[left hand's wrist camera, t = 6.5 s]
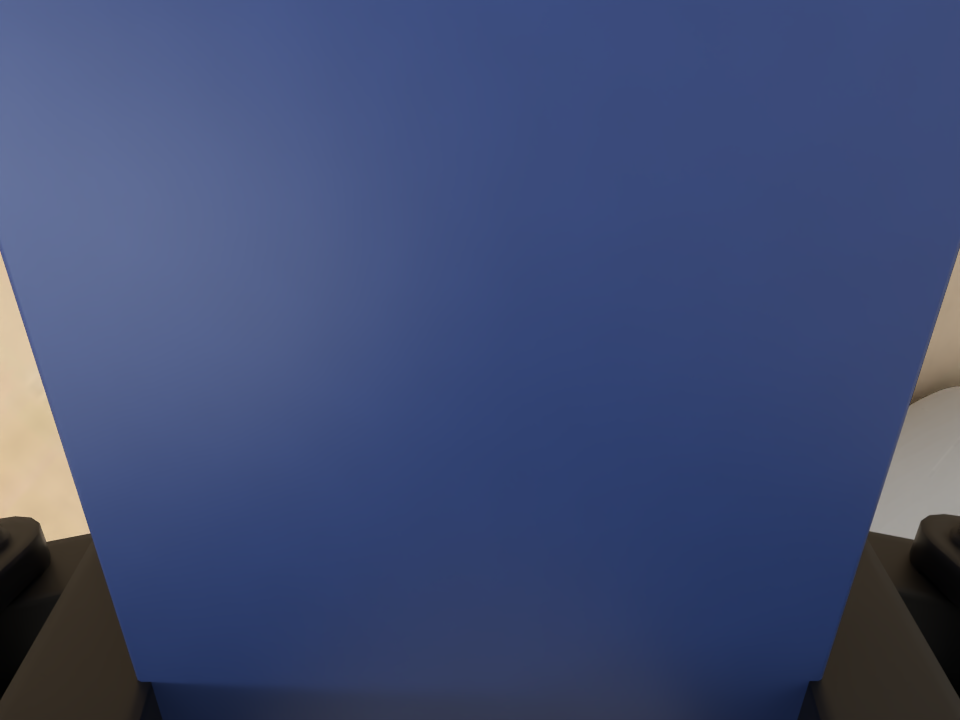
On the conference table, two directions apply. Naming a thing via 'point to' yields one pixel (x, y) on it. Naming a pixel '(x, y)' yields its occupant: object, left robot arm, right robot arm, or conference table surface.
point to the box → (479, 336)
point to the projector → (923, 467)
